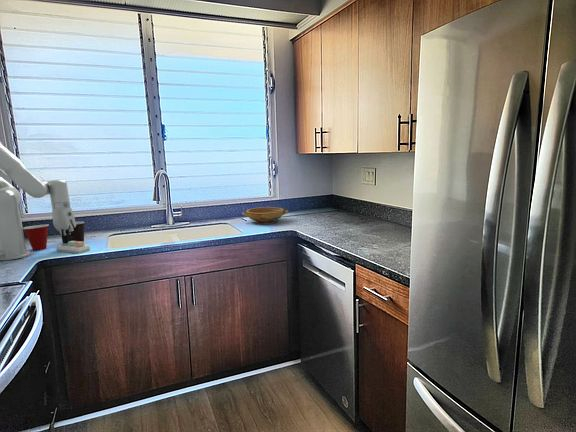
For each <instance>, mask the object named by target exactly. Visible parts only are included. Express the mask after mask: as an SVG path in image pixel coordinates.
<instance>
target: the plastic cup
mask: <svg viewBox="0 0 576 432" xmlns="http://www.w3.org/2000/svg"><path fill="white" fill-rule="evenodd" d="M49 226H50V224H48V223H47V224H38V225H30V226H29V225H28V226H24V227H23V231H24V232H25V234H26V236H27V239H28V242H29V244H30V247H31V249H32V250H33V251H42V250H45V249H47V248H48V247H47V245H48V230H49Z"/></svg>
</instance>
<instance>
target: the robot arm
mask: <svg viewBox="0 0 576 432" xmlns="http://www.w3.org/2000/svg"><path fill="white" fill-rule="evenodd" d="M0 171H1V172H2V173H3V174H4V175H6V177H7V178H9V179H10V180H11V181H12V182H13V183H14V184H15V185H16V186H18V187H19V188H20V189H21V190H22V191H23V192H25V193H26V194H27V195H28V196H31V197H32V198H34V199H36V198H37V199H40V198H43V197H45V196H49V198H50V203H51V204H50V205H51V210H52V211H51V213H52V214H51V215H52V216H51V217H52V224H53V227H54V228H55V230H56V231H57V232H59V234H60V235H61V242H62V243H65V244H66V243H68V242H69V241H71V239H70V234H71V232H72V231H74V229H73V228H75V227H76V223H75V222H76V218H75V214H74V211H73V209H72V207H71V201H70V195H69V190H68V189H69V188H68V183H67V180H65V179H52V180H41V179H40V180H39V179H38V178H37V177H36V176H35V175H33V173H31V172H30V171H29V170H28V169H27V168H26V167H25V165H24V163H23V162H22V161H21V160H20V158H19V157H17V156H16V155H15V154H14V153H12V152H11V151H10V150H9V149H8V148H7V147H5V146H4V144H3V143H2V141H1V140H0ZM21 200H22V194H21V193H20V191H19V190H18V189H17V188H16V187H15V186H13V185H12V184H11V183H10V182H8V180H6V179H4V178H3V177H2V176H0V261H11V260H17V259H18V260H19V259H21V258H22V259H23V258H25V257H28V256H30V255H32V254H31V250H27V247H26V239H25V234H24V229H23V228H24V227H23V221H22V216H21V215H22V214H21V211H20V206H19V203H20V202H21Z"/></svg>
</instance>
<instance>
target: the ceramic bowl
mask: <svg viewBox="0 0 576 432" xmlns="http://www.w3.org/2000/svg"><path fill="white" fill-rule="evenodd" d="M288 213H289V210H288V209H286V210H285V209H284V208H283V207H277V206H276V207H274V206H263V207H253V208H249V209H246V211H242V212H241V215H243V216H245V217H247V218H249V219H250V220H252V221H255V222H256V223H257V224H258V225H265V224H264V223H270V224H274V223H275V221H278V220H279V219H280V218H282V216H284V215H287V214H288ZM273 222H274V223H273Z"/></svg>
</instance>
